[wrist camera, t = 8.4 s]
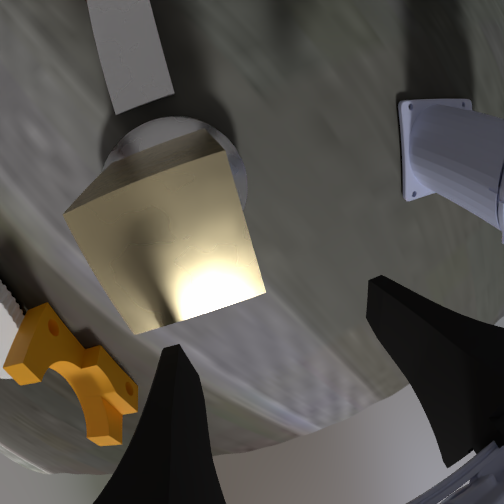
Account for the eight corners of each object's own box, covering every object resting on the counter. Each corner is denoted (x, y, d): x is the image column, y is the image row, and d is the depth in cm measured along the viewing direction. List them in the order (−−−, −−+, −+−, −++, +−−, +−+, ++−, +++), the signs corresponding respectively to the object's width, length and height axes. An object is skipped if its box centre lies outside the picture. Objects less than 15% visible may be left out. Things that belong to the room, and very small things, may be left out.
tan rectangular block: (204, 128, 13) (225, 150, 7) (230, 215, 16) (265, 292, 10) (111, 163, 13) (62, 214, 7) (146, 245, 16) (134, 334, 10)
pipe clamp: (138, 384, 24) (138, 442, 19) (103, 392, 24) (100, 446, 19) (63, 294, 18) (38, 358, 13) (28, 308, 18) (2, 367, 12)
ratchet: (165, -101, 6) (167, -138, 1) (252, 220, 19) (275, 257, 15) (49, -58, 5) (24, -85, 1) (137, 258, 18) (129, 304, 14)
